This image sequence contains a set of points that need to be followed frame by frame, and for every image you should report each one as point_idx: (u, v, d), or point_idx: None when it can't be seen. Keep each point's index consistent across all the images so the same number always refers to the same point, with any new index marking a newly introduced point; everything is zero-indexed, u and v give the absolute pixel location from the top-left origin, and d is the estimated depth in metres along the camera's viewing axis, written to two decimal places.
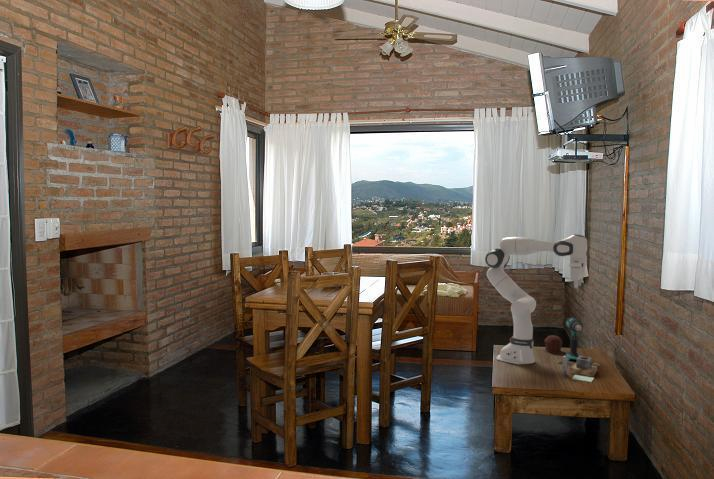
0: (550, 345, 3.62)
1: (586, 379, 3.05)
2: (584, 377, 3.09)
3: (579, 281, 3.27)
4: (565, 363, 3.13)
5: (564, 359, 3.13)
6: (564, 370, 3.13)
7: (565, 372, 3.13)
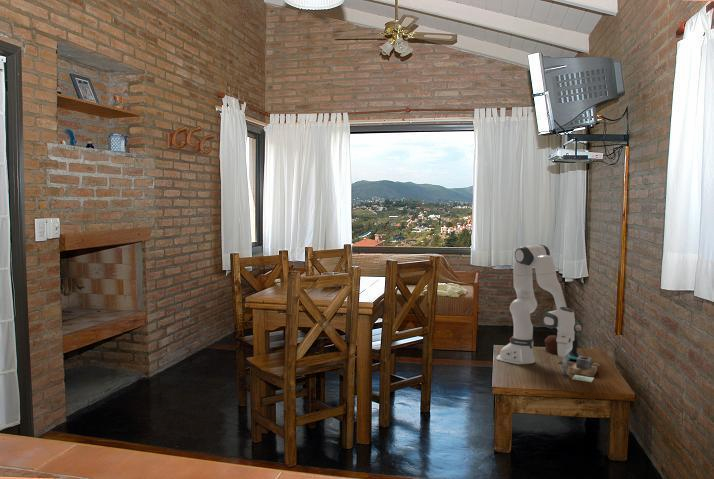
0: (550, 345, 3.62)
1: (586, 379, 3.05)
2: (584, 377, 3.09)
3: (565, 355, 3.16)
4: (565, 363, 3.13)
5: None
6: (564, 370, 3.13)
7: (565, 372, 3.13)
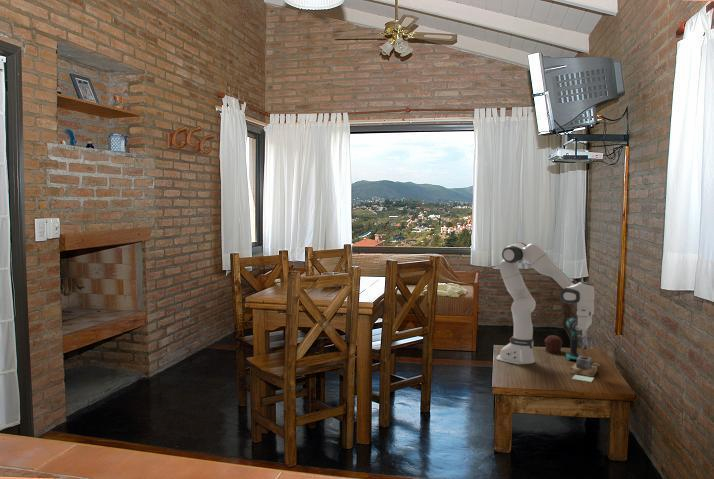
0: (550, 345, 3.62)
1: (586, 379, 3.05)
2: (584, 377, 3.09)
3: (585, 329, 3.20)
4: (585, 337, 3.17)
5: None
6: (584, 344, 3.17)
7: (585, 346, 3.17)
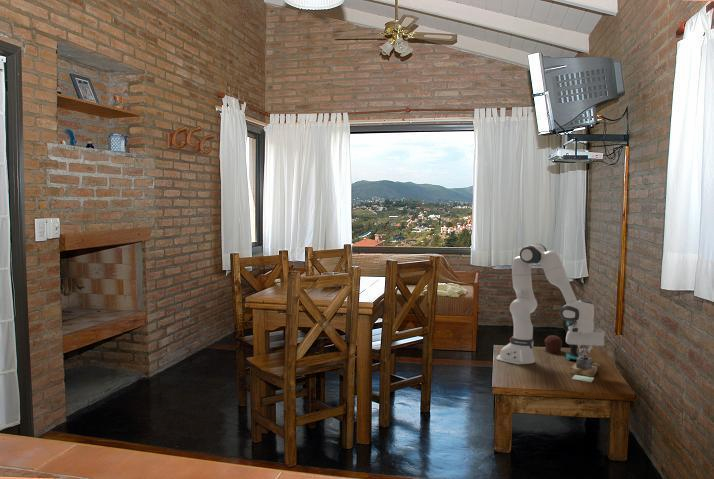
0: (550, 345, 3.62)
1: (586, 379, 3.05)
2: (584, 377, 3.09)
3: (589, 348, 3.18)
4: (582, 355, 3.19)
5: (582, 351, 3.19)
6: None
7: None
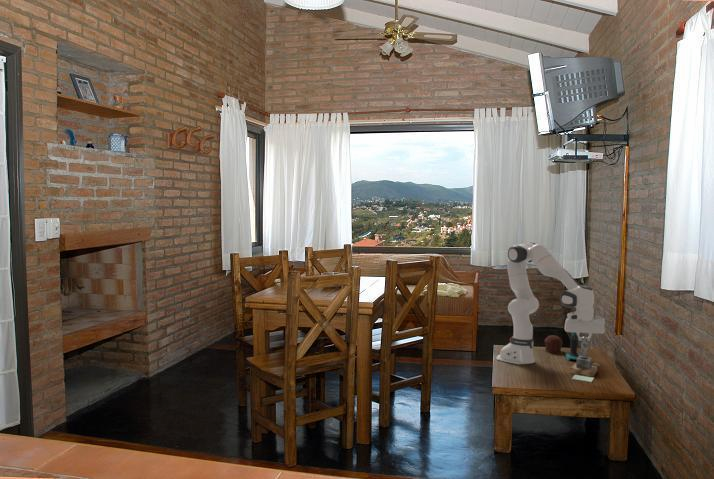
0: (550, 345, 3.62)
1: (586, 379, 3.05)
2: (584, 377, 3.09)
3: (589, 336, 3.06)
4: (582, 343, 3.06)
5: None
6: (581, 351, 3.07)
7: (581, 353, 3.06)
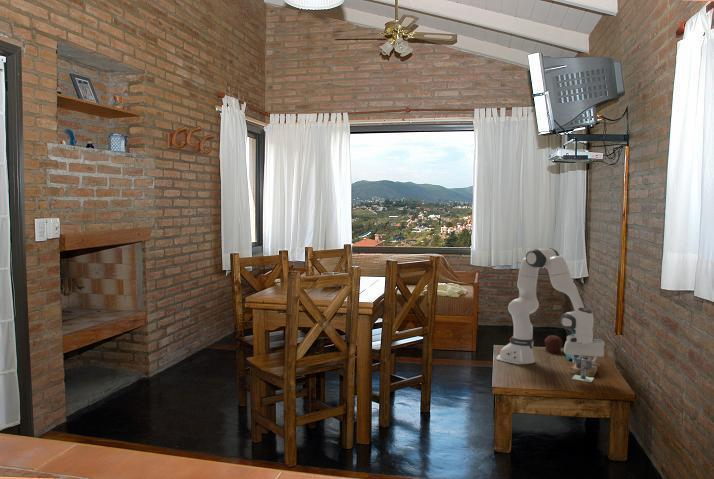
0: (550, 345, 3.62)
1: (586, 379, 3.05)
2: None
3: (593, 359, 3.06)
4: (581, 365, 3.07)
5: (581, 361, 3.07)
6: None
7: (581, 375, 3.07)
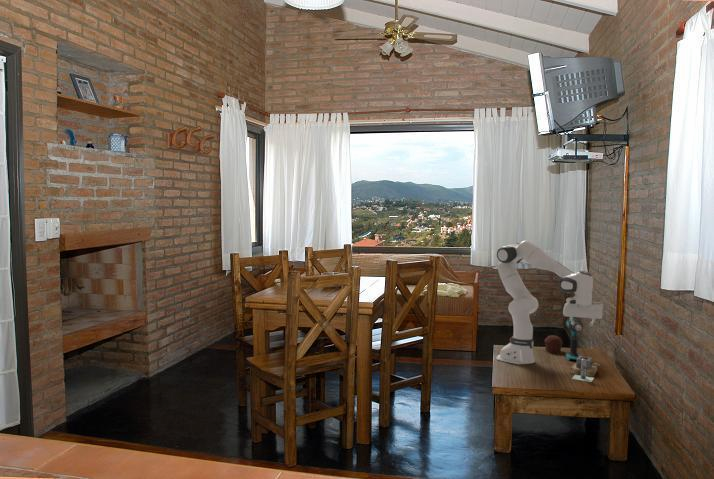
0: (550, 345, 3.62)
1: (586, 379, 3.05)
2: None
3: None
4: (581, 365, 3.07)
5: (581, 361, 3.07)
6: (581, 372, 3.08)
7: (581, 375, 3.07)
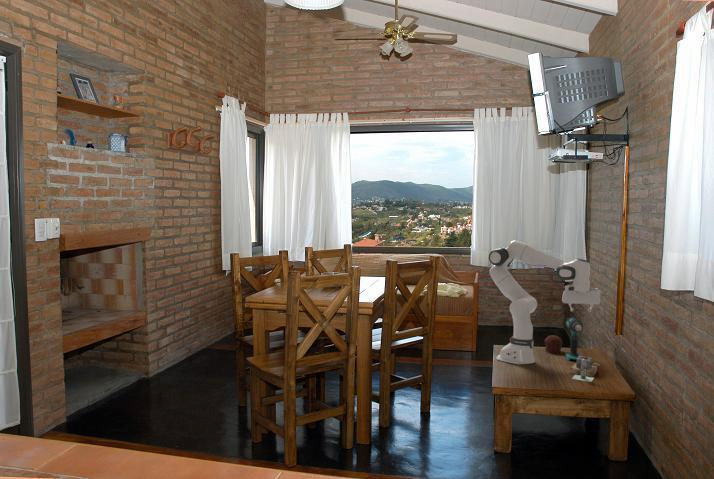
0: (550, 345, 3.62)
1: (586, 379, 3.05)
2: None
3: (590, 307, 3.20)
4: (581, 365, 3.07)
5: (581, 361, 3.07)
6: (581, 372, 3.08)
7: (581, 375, 3.07)
